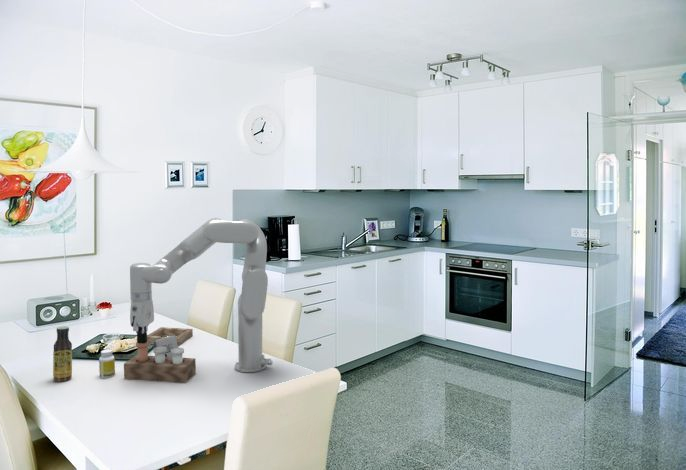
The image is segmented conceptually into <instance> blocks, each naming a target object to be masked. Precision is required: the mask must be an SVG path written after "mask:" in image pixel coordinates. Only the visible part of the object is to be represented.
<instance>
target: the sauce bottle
mask: <svg viewBox="0 0 686 470" xmlns="http://www.w3.org/2000/svg"><path fill="white" fill-rule="evenodd" d="M69 331H70V326H64V325H63V326H59V327H56V340H55V342H54V344H53V354H52V355H53V357H52V358H53V359H52V360H53V361H52V370H53V371H52V376H53V381H55V382H58V383H59V382H66V381H70V379H72V376H73V351H72V349H73V343H72V342H71V341H70V339H69V338H70V337H69Z"/></svg>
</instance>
